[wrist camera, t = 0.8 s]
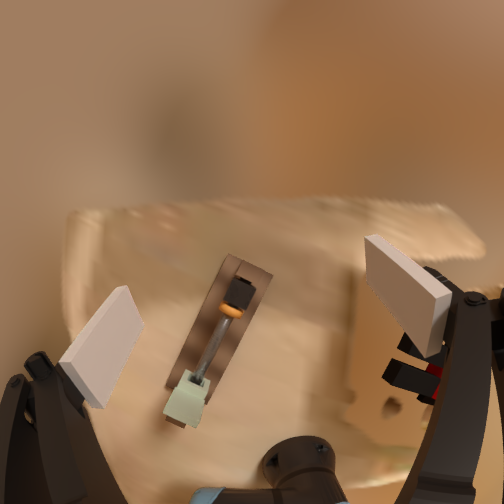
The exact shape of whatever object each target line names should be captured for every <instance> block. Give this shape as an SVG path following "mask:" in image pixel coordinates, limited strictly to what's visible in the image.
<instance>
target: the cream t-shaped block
mask: <svg viewBox="0 0 504 504" xmlns="http://www.w3.org/2000/svg"><path fill="white" fill-rule="evenodd" d="M192 375H193V372H191V371H189V370H187V369H186V370H185V372H184V374H183V376H182V378H181V379H180V382H179V384H178V386H177V387H175V388H174V390H173V392H172V394H171V396H170V398H169V400H168V402H167V404H166V406H165V408H164V410H163V412H162V413H164V414H166V415H168V416H170V417H172V418H174V419H176V420H178V421H181V422H183V423H185V424H187V425H190V426H192V427H194V428H197V426H198V424H199V422H200V419H201V415H202V411H203V407H204V403H205V400H204V399H205V397H206V395H207V393H208V389H209V385H210V380H208V379H206V378H204V379H203V381H202V383H201V385H200V386H198V385H196V384H194V383H192V382H190V379H191V377H192Z"/></svg>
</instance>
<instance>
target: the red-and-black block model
mask: <svg viewBox="0 0 504 504" xmlns="http://www.w3.org/2000/svg"><path fill="white" fill-rule="evenodd" d="M397 348H398V349H399V350H401V351H403V352H405V353H407V354H409V355H411V356H413V357H416V358H418V359H421V360H423V361H426V362H428V363H429V364H428V366H427V368H426V370H425V371H424V370H421V369H419V368H416V367H414V366H411V365H408V364H406V363H403V362H401V361H398V360H395V359H393V358H392V359H391V361H390V362H389V365H388V366H387V368H386V370H385V372H384V374H383V375H382V378H383V379H385V381H387V382H388V383H389V384H390V385H392V386H395V387H398V388H402V389H405V390H408V391H412V392H415V393H418V394H419V395H418V397H417V399H418V400H419V401H420V402H422V403H426V404H430V405H434V404H435V401H436V397H437V393H438V389H439V385H440V381H441V377H442V372H443V367H444V366H442V365H443V362H444V359H445V355H446V352H447V348H448V345H447V344H446V343H445V345H442V346H441V350H440V352H439V353H437V354H434V355H432V356H430V357H427V358H424V357H423V355H422V354H421V352H420V351H419V350H418V348H417V347H416V346H415V344H414V343H413V342H412V340H411V339H410V337H409V336H408V335H407V333H406V332H404V334H403V337H402V339H401V341H400V343H399V345H398V347H397Z"/></svg>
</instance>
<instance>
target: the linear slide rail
mask: <svg viewBox="0 0 504 504" xmlns="http://www.w3.org/2000/svg"><path fill="white" fill-rule="evenodd" d="M233 277H236V278H238V279H240V277H242V278H244V279H246V280H248V281H250V282H252V283H251V285H253V286H255V287H256V292H255V294H254V296H253V298H252V300H251V302H250V304H249V306H248V308H247V310H244V309H242V308H240V307H239V308H240V309H242V310H243V311H244V313H243V315H242V317H241V319H237V318H234V319H233V321H232V323H231V325H230V327H229V329H228V331H227V333H226V335H225V337H224V339H223V341H222V343H221V345H220V347H219V349H218V351H217V353H216V355H215V357H214V359H213V361H212V363H211V365H210V367H209V369H208V371H207V373H206V375H205V377H204V378H206V379H208V380H210V385H209V389H208V393H207V395H206V397H205V399H204V400H205V403H204V404H206V405H207V403H208V401H209V400H210V398H211V396H212V394H213V392H214V390H215V388H216V387H217V385H218V383H219V381H220V379H221V377H222V375H223V373H224V371H225V370H226V368H227V366H228V364H229V362H230V360H231V358H232V356H233V354H234V352H235V350H236V349H237V347H238V345H239V343H240V341H241V339H242V337H243V335H244V333H245V331H246V329H247V327H248V325H249V323H250V321H251V319H252V317H253V315H254V313H255V311H256V309H257V307H258V305H259V303H260V301H261V299H262V297H263V295H264V293H265V291H266V289H267V287H268V285H269V283H270V281H271V279H272V277H273V275H272V274H270V273H268V272H266V271H265V270H263V269H261V268H259V267H257V266H255V265H252V264H250V263H248V262H246V261H244V260H241V259H239V258H237V257H235V256H233V255H231V254H229V253H228V255H227V257H226V259H225V261H224V263H223V265H222V267H221V269H220V271H219V273H218V275H217V277H216V279H215V282H214V284H213V286H212V288H211V290H210V292H209V294H208V296H207V298H206V300H205V302H204V304H203V306H202V309H201V311H200V313H199V315H198V317H197V319H196V321H195V323H194V325H193V328H192V330H191V332H190V334H189V336H188V338H187V340H186V342H185V345H184V347H183V349H182V351H181V353H180V355H179V357H178V360H177V362H176V364H175V366H174V368H173V371H172V373H171V375H170V377H169V379H168V381H167V384H166V386H168V387H170V388H172V389H174V388H175V387H177V386H178V384H179V382H180V379H181V378H182V376H183V374H184V372H185V370H186V369H187V370H189V371H191V372H193V373H194V371H195V369H196V367H197V365H198V363H199V361H200V359H201V357H202V354H203V352H204V350H205V348H206V346H207V344H208V342H209V340H210V338H211V336H212V334H213V332H214V330H215V328H216V326H217V324H218V322H219V320H220V318H221V316H222V314H223V312H222V311H221V310H219V306H220V304H221V302H222V301H225V300H223V298H224V296H225V294H226V292H227V289H228V287H229V285H230V283H231V281H232V279H233ZM226 302H227V301H226ZM165 420H166V421H169V422H171V423H173V424H175V425H177V426H179V427H181V428H185V426H186V424H185V423H183V422H181V421H178V420H176V419H174V418H172V417H170V416H168V415H167V417H166V419H165Z"/></svg>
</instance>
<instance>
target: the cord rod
mask: <svg viewBox="0 0 504 504" xmlns="http://www.w3.org/2000/svg"><path fill="white" fill-rule="evenodd" d="M251 283H252V282H250V281H248V280H246V279H244V278H242V277H240V279H238V278H236V277H233V279H232V281H231V283H230V285H229V287H228V289H227V292H226V294H225V296H224V298H223V300H225V301H227V302H228V305H229V306H231V307H233V308H235V309H239V307H240V308H242V309H244V310H247V308H248V306H249V304H250V302H251V300H252V298H253V296H254V294H255V292H256V287H255V286H253V285H251ZM233 319H234V317H231V316H229V315H227V314H225V313H224V312H223V314H222V316H221V318H220V320H219V322H218V324H217V326H216V328H215V330H214V332H213V334H212V336H211V338H210V340H209V342H208V344H207V346H206V348H205V350H204V352H203V354H202V357H201V359H200V361H199V363H198V365H197V367H196V369H195V371H194V373H193V375H192V377H191V379H190V382H192V383H194V384H196V385H198V386H200V385H201V383H202V381H203V379H204V377H205V375H206V373H207V371H208V369H209V367H210V365H211V363H212V361H213V359H214V357H215V355H216V353H217V351H218V349H219V347H220V345H221V343H222V341H223V339H224V337H225V335H226V333H227V331H228V329H229V327H230V325H231V323H232V321H233Z"/></svg>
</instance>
